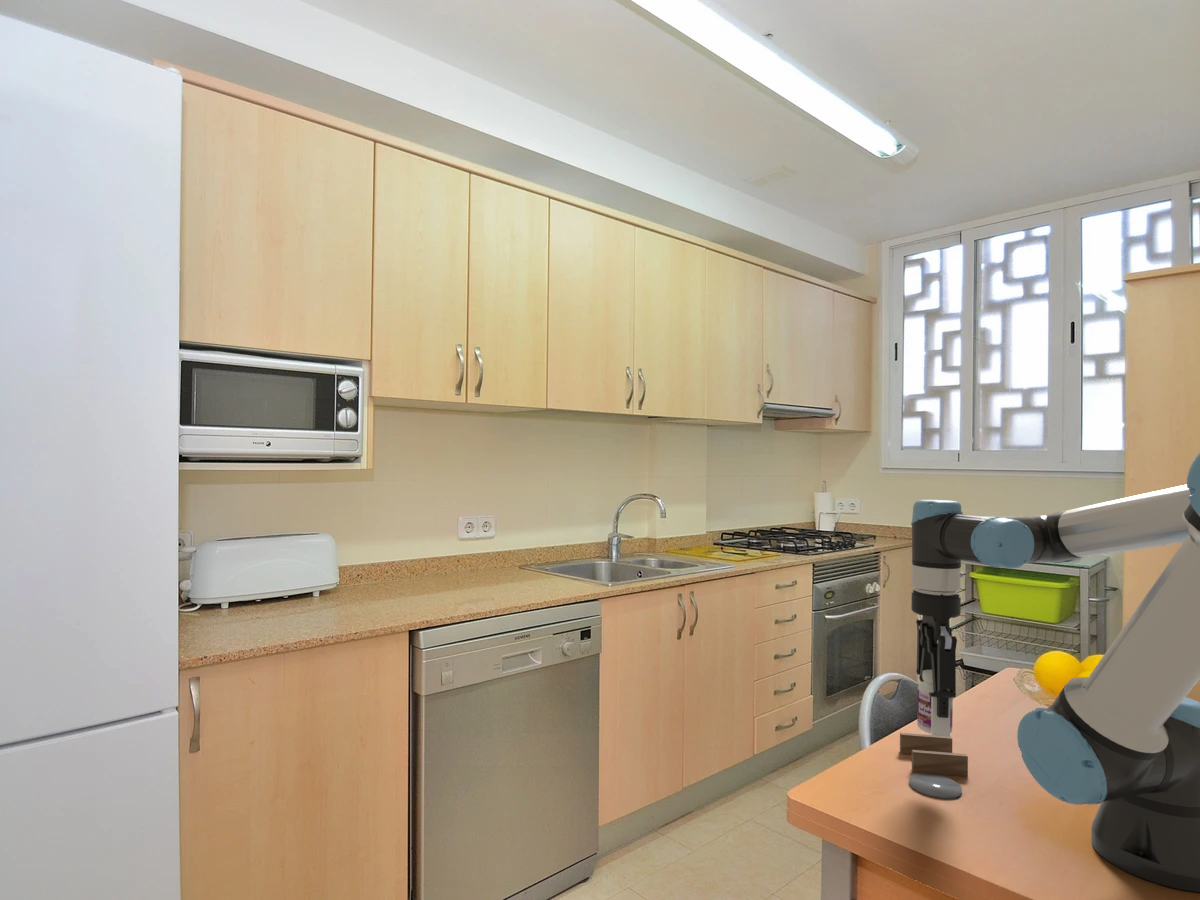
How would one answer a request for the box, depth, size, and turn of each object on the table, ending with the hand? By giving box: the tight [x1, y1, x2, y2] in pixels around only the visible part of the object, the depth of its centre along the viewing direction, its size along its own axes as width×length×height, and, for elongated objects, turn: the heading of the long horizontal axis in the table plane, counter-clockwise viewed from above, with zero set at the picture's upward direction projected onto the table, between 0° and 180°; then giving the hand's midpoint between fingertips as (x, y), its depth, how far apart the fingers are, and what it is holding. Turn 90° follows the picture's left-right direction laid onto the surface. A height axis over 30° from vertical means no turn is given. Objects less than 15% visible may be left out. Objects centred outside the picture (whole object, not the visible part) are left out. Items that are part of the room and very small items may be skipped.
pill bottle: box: [916, 670, 954, 735], centre depth 116 cm, size 5×5×10 cm
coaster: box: [908, 772, 963, 800], centre depth 116 cm, size 8×8×1 cm
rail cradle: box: [899, 732, 969, 777], centre depth 125 cm, size 9×9×4 cm
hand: (934, 728), depth 116 cm, fingers closed on pill bottle, 5 cm apart
